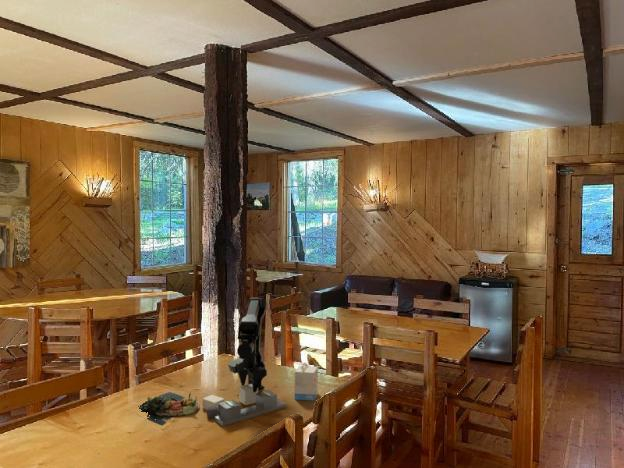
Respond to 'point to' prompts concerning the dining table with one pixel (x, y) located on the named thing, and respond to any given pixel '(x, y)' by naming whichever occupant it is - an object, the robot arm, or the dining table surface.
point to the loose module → (247, 394)
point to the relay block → (211, 401)
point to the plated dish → (168, 407)
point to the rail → (248, 408)
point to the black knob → (212, 412)
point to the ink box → (306, 382)
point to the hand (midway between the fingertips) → (248, 388)
